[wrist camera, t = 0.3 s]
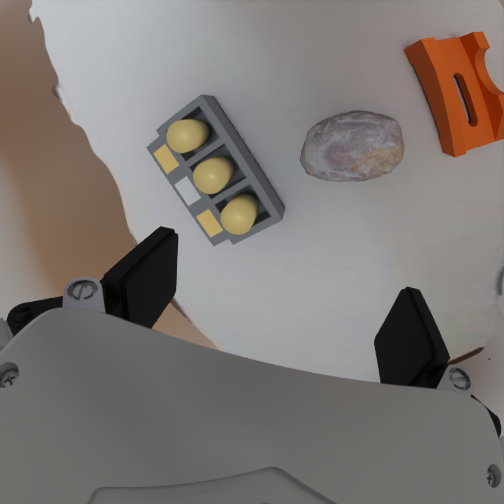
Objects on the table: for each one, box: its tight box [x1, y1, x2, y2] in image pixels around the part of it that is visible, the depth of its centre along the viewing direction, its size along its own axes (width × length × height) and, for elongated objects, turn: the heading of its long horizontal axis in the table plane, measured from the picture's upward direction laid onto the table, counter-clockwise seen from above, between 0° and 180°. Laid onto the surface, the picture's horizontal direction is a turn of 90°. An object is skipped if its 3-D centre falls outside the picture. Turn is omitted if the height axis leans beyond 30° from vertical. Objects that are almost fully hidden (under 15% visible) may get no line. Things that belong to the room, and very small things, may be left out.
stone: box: [300, 111, 404, 182], centre depth 39 cm, size 17×10×10 cm
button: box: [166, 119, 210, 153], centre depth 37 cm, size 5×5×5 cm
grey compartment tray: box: [156, 95, 285, 245], centre depth 42 cm, size 22×9×6 cm, turn 32°
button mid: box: [193, 156, 235, 194], centre depth 39 cm, size 5×5×5 cm
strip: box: [147, 136, 228, 246], centre depth 48 cm, size 22×5×1 cm, turn 32°
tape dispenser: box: [404, 32, 504, 157], centre depth 27 cm, size 18×13×8 cm
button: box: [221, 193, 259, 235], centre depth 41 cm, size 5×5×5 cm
